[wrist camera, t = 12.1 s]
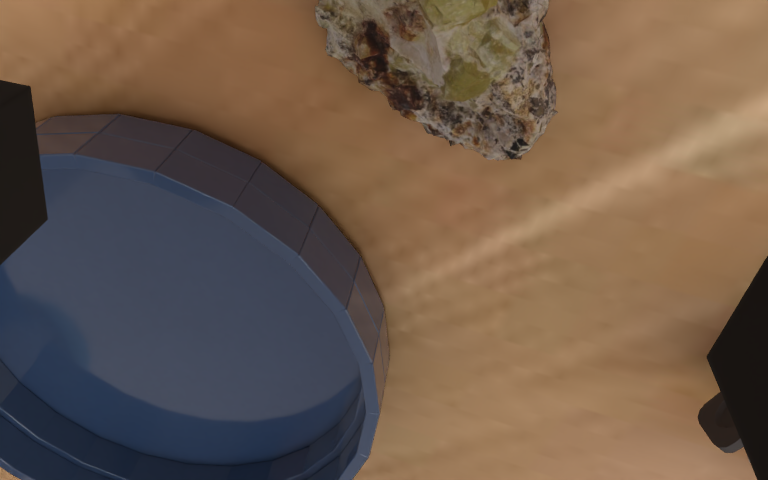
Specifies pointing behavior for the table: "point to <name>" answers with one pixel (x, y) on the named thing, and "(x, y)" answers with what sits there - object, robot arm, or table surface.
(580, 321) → the table surface
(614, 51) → the table surface
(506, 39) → the mineral rock
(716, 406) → the clip-on lamp
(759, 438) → the robot arm
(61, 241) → the bowl
